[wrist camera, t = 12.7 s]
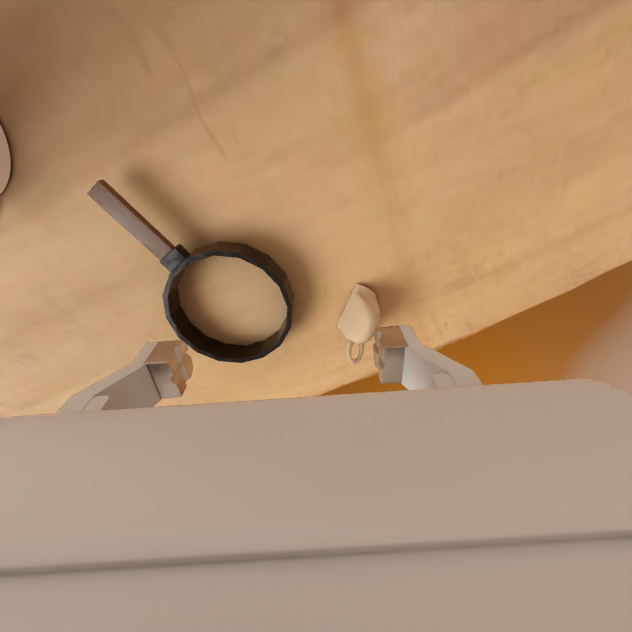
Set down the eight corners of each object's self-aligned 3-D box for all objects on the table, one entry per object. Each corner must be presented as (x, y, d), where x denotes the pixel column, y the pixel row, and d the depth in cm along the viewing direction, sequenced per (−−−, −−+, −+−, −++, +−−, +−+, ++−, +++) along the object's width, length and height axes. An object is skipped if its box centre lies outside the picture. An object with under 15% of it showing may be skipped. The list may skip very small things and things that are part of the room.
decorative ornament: (386, 293, 41) (395, 314, 36) (356, 343, 45) (361, 367, 40) (357, 282, 40) (363, 301, 36) (330, 333, 44) (332, 357, 39)
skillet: (317, 307, 42) (317, 319, 39) (236, 365, 47) (231, 380, 44) (153, 130, 32) (138, 131, 29) (72, 227, 37) (52, 235, 34)
